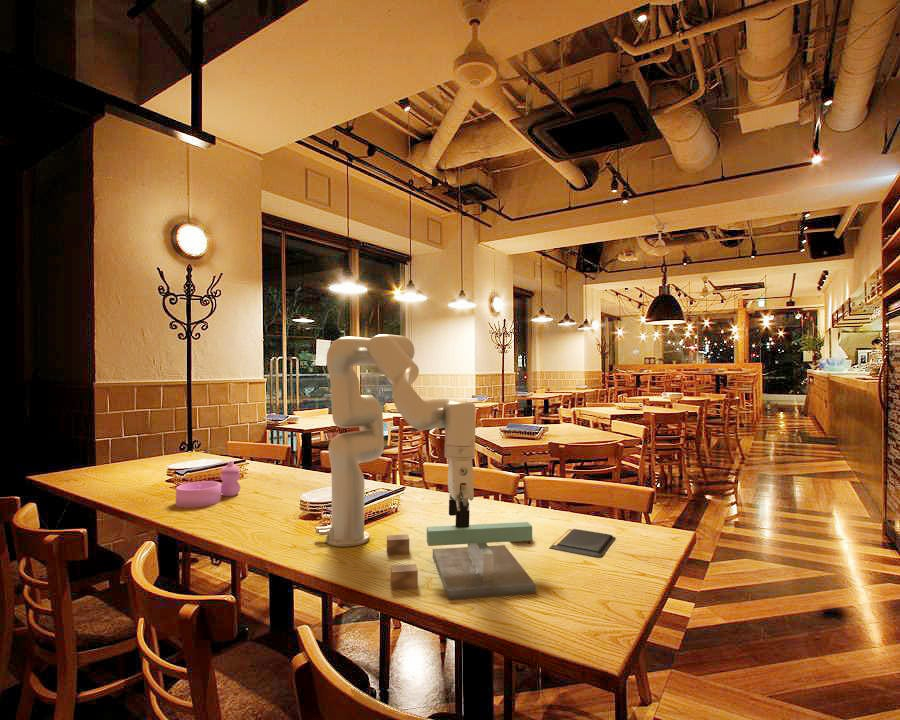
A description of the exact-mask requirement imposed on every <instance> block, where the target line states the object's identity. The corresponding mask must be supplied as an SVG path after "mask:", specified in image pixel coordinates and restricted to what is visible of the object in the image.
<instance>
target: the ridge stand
mask: <svg viewBox="0 0 900 720" xmlns="http://www.w3.org/2000/svg"><path fill="white" fill-rule="evenodd" d="M432 559H433V561H434V565H435V564H436V565H435V567H436V569H437V572H438V576H439V578H440V580H441V583H442V587H443V589H444V592H445V595H446V597H447V600H448V601H453V600H454V599H456V600H467V598H470V599H481V598H482V597H483V598H495V597H494V596H497V597H506V596H509V597H510V595H511V596H522V595H533V594H534V595H535V594H537V584H536V583H535V582H534V580H533V579H532V578H531V576H530V575H529V574H528V573H527V571H526V570H525V569H524V568H523V566H522V565H521V564H520V563H519V562H518V560H517V559H516V558H515V556H514V555H513V554H512V553H511V552H510V550H509V549H508V547H506V545H504V544H499V545H497V544H496V545H488V544H487V543H475V544H467V546H466V547H465V546H464V547H463V546H461V547H446V548H432Z"/></svg>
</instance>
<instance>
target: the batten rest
mask: <svg viewBox="0 0 900 720" xmlns="http://www.w3.org/2000/svg"><path fill="white" fill-rule="evenodd" d="M386 554H387V556H394V555H395V554H398V555H410V536H409V534H390V535H389V534H388V535H386ZM395 556H396V555H395ZM418 570H419V569H418V566H417V564H416V563H415V564H413V563H412V564H411V563H410V564H396V565H393V564H392V565H390V590H391V591H398V590H409V589H410V590H411V589H412V590H413V589H418V586H419V585H418V584H419V583H418V582H419V581H418V578H419V577H418V576H419V574H418V573H419V571H418Z"/></svg>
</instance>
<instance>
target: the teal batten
mask: <svg viewBox="0 0 900 720" xmlns="http://www.w3.org/2000/svg"><path fill="white" fill-rule="evenodd" d="M529 540H532V541H533V526H532V524H530V522H529V521H523V522H521V521H519V522H518V521H517V522H502V523H500V522H499V523H481V524H479V523H477V524H476V523H475V524H469V527H468V528H456V526H455V525H444V526H443V525H442V526H441V525H440V526H426V542H427V543H426V544H427V546H428V547H436V546H437V547H438V546H451V545H453V546H454V545H457V546H458V545H468V544H475V543H486V544H487V543H488V544H489V543H506V542H508V543H509V542H523V541H529Z"/></svg>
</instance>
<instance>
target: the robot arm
mask: <svg viewBox="0 0 900 720" xmlns="http://www.w3.org/2000/svg"><path fill="white" fill-rule="evenodd" d="M414 357H415V347H414V344H413V341H412V340H410V338H408V337H406V336H404V335H398V334H397V335H396V334H385V333H383V334H377V335H375V336H373V337H361V336H342V337H339V338H337V339H335V340H334V341H333V342H332V343H330V346H329V347H328V350H327V353H326V367H327V372H328V375H329V376H328V377H329V381H330V397H331V398H330V399H331V403H330V404H331V417H332V421H333V423H334V425H335V426H336V427H338V428H342V429H348V428H349V429H350V428H359V430H358V431H357V430H356V431H350V432H342V433H340V434H336V435H335V436H334V437H333V438H332V439H331V440H330V442H329V444H328V457H329V462H330V468H331V469H330V471H331V522H330V525H327V526H316V528H315V534H316V535H319V536H326V537H325V542H326V544H328V545H330V546H333V547H339V548H340V547H341V548H344V547H345V548H346V547H347V548H348V547H354V546H360V545H362V544H365V543H367V542H368V541H369V540H370V533H369V532H368V531H365V476H364V473H363V472H362V469H361V467H360V465H359V464H361V463H362V464H363V463H366V462H367V463H368V462H372V461H376V460H377V459H379V458H380V457H381V456H382V454H383V452H384V448H385V438H384V433H385V432H384V417H383V409H382V407H381V403H380V402H379V400H378V399H377V398H376V397H375V396H373V395H370V394H365V395H364V394H361V389H360V387H361V385H360V380H359V377H358V375H357V373H356V371H355V370H354V368H353V367H357V366H359V367H377V369H379V370H380V371H381V373H382V374H383V375H384V377H386V379H387V381H388V382H389V383H390V384H391V386H392V389H391V393H392V400H393V404H394V406H395V408H396V410H397V411H398V412H399V414H400V416H401V417H402V418H403V419H404V420H405V421H406V423H407V424H409V425H410V427H412V428H413V429H415V430H418V431H428V430H433V429H442V428H443V429H444V458H445V459H447V460H448V462H447V463H448V466H447V467H448V469H447V471H448V472H447V492H448V493H449V496H448V497H449V499H448V516H451V517H452V516H453V517H454V516H455V525H456V528H468V527H469V525H470V501H473V500H474V495H475V494H474V469H473V467H474V466H473V460H474V459H476V423H477V422H476V421H477V420H476V415H477V411H476V410H477V409H476V408H477V407H476V405H475V404H474V403H473V402H472V401H471V402H470V401H467V400H466V401H463V400H460V401H459V400H458V401H456V400H451V399H448V398H430V399H429V398H428V399H423V398H422V397H420V395H419V394H418V393H417V392H416V391H415V389H414V388H413V387H412V384H413V383H414V382H415V381H416V380H417V378H418V377H419V374H420V373H419V372H420V371H419V370H420V368H419V366H418V365H417V363H415V362H414V360H413V359H414Z"/></svg>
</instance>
